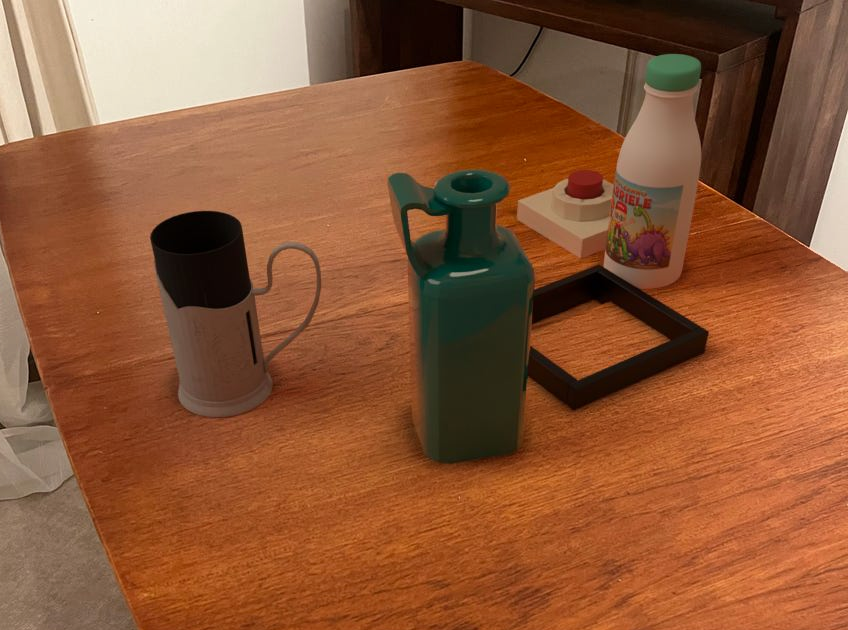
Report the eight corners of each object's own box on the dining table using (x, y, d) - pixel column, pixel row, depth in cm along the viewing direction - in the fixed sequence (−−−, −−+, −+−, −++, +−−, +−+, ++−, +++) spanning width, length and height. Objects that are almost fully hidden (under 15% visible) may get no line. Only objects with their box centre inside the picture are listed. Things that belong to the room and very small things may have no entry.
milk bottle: (633, 250, 106) (665, 39, 91) (696, 275, 102) (739, 58, 87) (586, 278, 103) (610, 64, 88) (648, 305, 99) (685, 85, 84)
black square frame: (703, 360, 92) (709, 331, 90) (572, 418, 88) (576, 389, 85) (595, 292, 101) (598, 263, 99) (472, 341, 96) (472, 313, 94)
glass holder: (186, 363, 97) (152, 208, 85) (334, 359, 96) (320, 202, 85) (170, 418, 91) (132, 260, 80) (328, 414, 90) (312, 254, 79)
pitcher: (502, 400, 90) (515, 145, 73) (528, 459, 84) (548, 197, 68) (393, 417, 89) (382, 163, 73) (412, 477, 83) (405, 216, 67)
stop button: (608, 195, 107) (610, 178, 106) (581, 204, 106) (583, 188, 105) (586, 183, 109) (588, 166, 108) (559, 192, 108) (561, 175, 107)
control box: (646, 233, 108) (652, 196, 105) (580, 259, 106) (584, 221, 103) (580, 196, 115) (584, 160, 112) (516, 219, 112) (518, 183, 109)
